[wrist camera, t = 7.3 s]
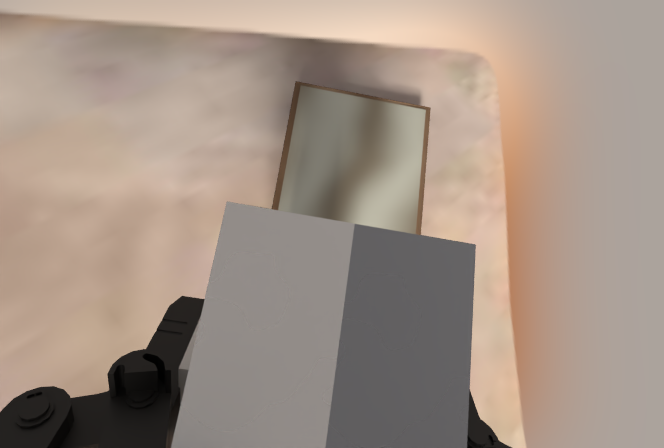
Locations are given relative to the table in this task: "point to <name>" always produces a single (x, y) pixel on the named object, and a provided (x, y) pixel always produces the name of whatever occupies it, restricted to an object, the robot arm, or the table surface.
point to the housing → (330, 337)
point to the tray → (354, 159)
